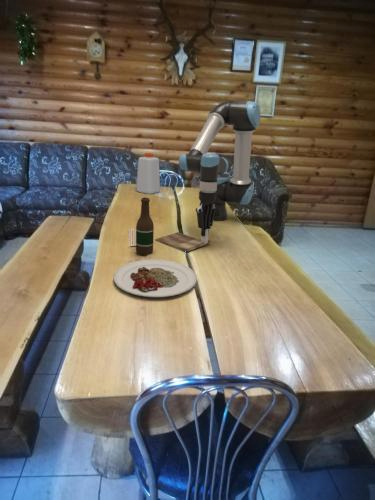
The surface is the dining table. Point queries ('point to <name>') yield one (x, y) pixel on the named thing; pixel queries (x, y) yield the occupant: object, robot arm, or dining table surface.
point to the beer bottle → (144, 230)
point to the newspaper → (132, 237)
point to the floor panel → (175, 239)
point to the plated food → (155, 278)
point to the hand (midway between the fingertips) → (204, 242)
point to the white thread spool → (148, 174)
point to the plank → (191, 245)
